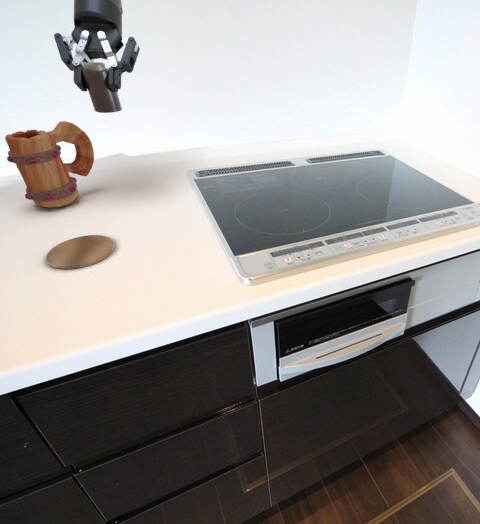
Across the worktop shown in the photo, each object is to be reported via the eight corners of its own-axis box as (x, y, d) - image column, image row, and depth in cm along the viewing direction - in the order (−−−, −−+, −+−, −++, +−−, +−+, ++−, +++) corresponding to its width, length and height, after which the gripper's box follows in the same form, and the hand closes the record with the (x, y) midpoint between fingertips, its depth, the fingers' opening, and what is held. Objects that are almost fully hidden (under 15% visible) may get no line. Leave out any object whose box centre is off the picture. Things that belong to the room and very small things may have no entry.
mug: (42, 217, 70) (4, 139, 62) (22, 205, 74) (-17, 130, 65) (116, 192, 81) (92, 122, 72) (95, 183, 84) (70, 115, 75)
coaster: (47, 275, 56) (45, 272, 56) (48, 246, 63) (46, 243, 62) (117, 258, 61) (116, 256, 60) (111, 232, 67) (110, 230, 67)
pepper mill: (95, 113, 68) (79, 65, 63) (93, 108, 71) (78, 61, 66) (123, 111, 70) (110, 65, 65) (120, 106, 73) (107, 61, 68)
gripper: (43, -13, 64) (40, 74, 62) (131, -7, 67) (132, 76, 64) (67, 21, 71) (66, 100, 69) (146, 26, 74) (147, 102, 72)
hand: (98, 88), depth 67 cm, fingers closed on pepper mill, 4 cm apart
